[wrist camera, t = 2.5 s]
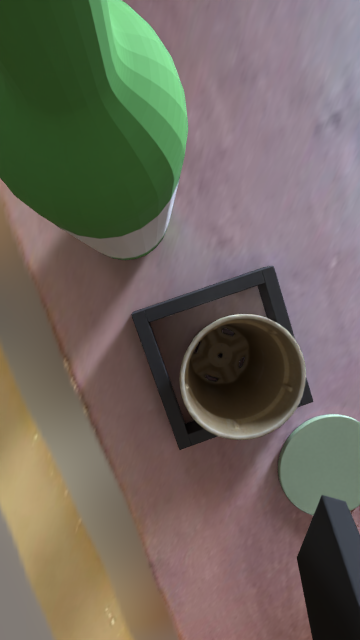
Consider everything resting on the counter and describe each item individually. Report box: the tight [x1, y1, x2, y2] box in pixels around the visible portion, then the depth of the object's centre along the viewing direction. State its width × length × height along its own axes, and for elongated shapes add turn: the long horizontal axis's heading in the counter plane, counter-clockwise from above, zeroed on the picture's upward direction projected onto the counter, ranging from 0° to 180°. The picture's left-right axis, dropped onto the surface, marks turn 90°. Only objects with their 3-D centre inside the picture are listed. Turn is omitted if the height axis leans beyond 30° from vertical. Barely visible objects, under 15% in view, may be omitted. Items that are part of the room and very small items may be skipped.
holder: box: [131, 266, 313, 450], centre depth 32 cm, size 13×13×2 cm
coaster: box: [278, 414, 360, 515], centre depth 35 cm, size 11×11×1 cm
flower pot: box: [180, 314, 306, 440], centre depth 28 cm, size 9×9×9 cm
